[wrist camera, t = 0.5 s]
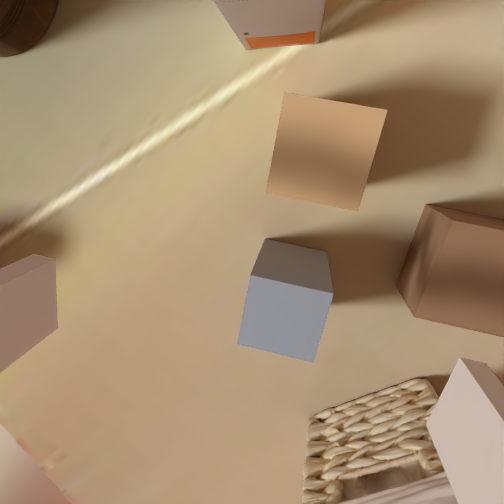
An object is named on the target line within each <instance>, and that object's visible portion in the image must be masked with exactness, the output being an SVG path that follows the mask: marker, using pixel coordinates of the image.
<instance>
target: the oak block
mask: <svg viewBox="0 0 504 504" xmlns="http://www.w3.org/2000/svg"><path fill="white" fill-rule="evenodd" d="M387 111H388V110H385V109H379V108H374V107H368V106H362V105H356V104H350V103H345V102H339V101H333V100H327V99H322V98H316V97H310V96H304V95H298V94H293V93H287V92H285V93H284V98H283V103H282V109H281V114H280V119H279V125H278V130H277V135H276V141H275V146H274V151H273V157H272V162H271V167H270V173H269V178H268V184H267V189H266V193H270V194H275V195H280V196H285V197H290V198H295V199H300V200H305V201H310V202H315V203H320V204H325V205H330V206H335V207H340V208H345V209H350V210H355V211H358V210H359V206H360V203H361V199H362V196H363V193H364V189H365V186H366V182H367V179H368V175H369V172H370V169H371V165H372V162H373V158H374V155H375V152H376V148H377V145H378V141H379V138H380V135H381V131H382V128H383V124H384V121H385V118H386V114H387Z"/></svg>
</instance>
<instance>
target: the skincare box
mask: <svg viewBox="0 0 504 504" xmlns="http://www.w3.org/2000/svg"><path fill="white" fill-rule="evenodd" d="M213 1H214V3H215V4H216V6H217V7H218V9H219V10H220V12H221V13H222V15H223V16H224V18H225V19H226V21H227V22H228V24H229V25H230V27H231V28H232V30H233V31H234V33H235V34H236V36H237V37H238V39H239V40H240V42H241V43H242V45H243V46H244V48H245V49H246V50H250V49H258V48H268V47H277V46H289V45H304V44H317V43H318V42H319V39H320V33H321V27H322V21H323V16H324V10H325V5H326V0H213Z"/></svg>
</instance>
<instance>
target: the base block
mask: <svg viewBox="0 0 504 504" xmlns="http://www.w3.org/2000/svg"><path fill="white" fill-rule="evenodd" d="M396 287H397V288H398V290H399V292H400V294H401V295H402V297H403V299H404V300H405V302H406V304H407V306H408V307H409V309H410V311H411V312H412V314H413V316H414V317H416V318H421V319H425V320H430V321H434V322H439V323H443V324H447V325H452V326H456V327H461V328H465V329H469V330H474V331H478V332H483V333H487V334H492V335H496V336H500V337H504V220H503V219H498V218H493V217H488V216H483V215H478V214H473V213H468V212H463V211H457V210H452V209H447V208H442V207H437V206H432V205H427V204H425V207H424V210H423V213H422V215H421V218H420V221H419V224H418V226H417V229H416V232H415V235H414V237H413V240H412V243H411V245H410V248H409V251H408V254H407V256H406V259H405V262H404V265H403V267H402V270H401V273H400V276H399V278H398V281H397V284H396Z"/></svg>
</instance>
